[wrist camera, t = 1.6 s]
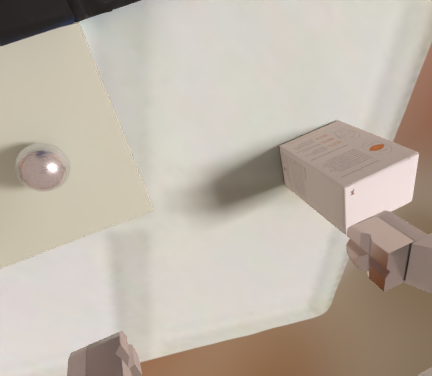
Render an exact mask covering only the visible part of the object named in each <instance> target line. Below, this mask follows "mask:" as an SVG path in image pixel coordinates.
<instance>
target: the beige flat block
mask: <svg viewBox="0 0 432 376" xmlns="http://www.w3.org/2000/svg"><path fill="white" fill-rule="evenodd" d="M36 143H47V144H51V145H54V146H56V147H58V148H59V149H61V150H62V151H63V152H64V153H65V154H66V155H67V157H68V159H69V162H70V167H71V169H70V175H69V177H68V179H67V181H66V182H65V183H64V184H63V185H62V186H61V187H59V188H57V189H55V190H52V191H47V192H40V191H35V190H32V189H29V188H28V187H26V186H25V185H23V184H22V183H21V182H20V180H19V179H18V177H17V175H16V173H15V161H16V158H17V156H18V154H19V153H20V152H21V151H22V150H23V149H24V148H26V147H27V146H29V145H32V144H36ZM153 210H154V209H153V206H152V203H151V200H150V197H149V195H148V192H147V190H146V188H145V185H144V183H143V180H142V178H141V175H140V173H139V170H138V168H137V165H136V163H135V160H134V158H133V155H132V153H131V150H130V148H129V145H128V143H127V140H126V138H125V135H124V133H123V131H122V128H121V126H120V123H119V121H118V118H117V116H116V113H115V111H114V108H113V106H112V103H111V101H110V98H109V96H108V93H107V91H106V88H105V86H104V83H103V81H102V78H101V76H100V74H99V71H98V69H97V66H96V64H95V61H94V59H93V56H92V54H91V51H90V49H89V46H88V44H87V41H86V39H85V36H84V34H83V31H82V29H81V26H80V24H79V22H78V23H74V24H70V25H66V26H63V27H59V28H56V29H53V30H50V31H47V32H44V33H41V34H38V35H35V36H32V37H29V38H25V39H22V40H19V41H16V42H13V43H10V44H7V45H4V46H0V269H1V268H4V267H6V266H9V265H12V264H14V263H17V262H20V261H22V260H25V259H27V258H30V257H33V256H35V255H38V254H40V253H43V252H46V251H48V250H51V249H54V248H56V247H59V246H61V245H64V244H67V243H69V242H72V241H74V240H77V239H80V238H82V237H85V236H88V235H90V234H93V233H95V232H98V231H101V230H103V229H106V228H108V227H111V226H114V225H116V224H119V223H122V222H124V221H127V220H129V219H132V218H135V217H137V216H140V215H143V214H145V213H148V212H150V211H153Z"/></svg>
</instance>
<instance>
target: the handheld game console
mask: <svg viewBox="0 0 432 376" xmlns="http://www.w3.org/2000/svg"><path fill="white" fill-rule="evenodd" d="M137 1H140V0H0V46H4V45H7V44H10V43H13V42H16V41H19V40H22V39H25V38H29V37H32V36H35V35H38V34H41V33H44V32H47V31H50V30H53V29H56V28H59V27H63V26H66V25H69V24H72V23H73V22H79V21H82V20H84V19H87V18H90V17H93V16H96V15H99V14H102V13H105V12H110V11H112V10H113V9H116V8H120V7H123V6H126V5H129V4H131V3H134V2H137Z"/></svg>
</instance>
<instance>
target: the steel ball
mask: <svg viewBox="0 0 432 376" xmlns="http://www.w3.org/2000/svg"><path fill="white" fill-rule="evenodd" d="M70 169H71V167H70V162H69V159H68V157H67V155H66V154H65V153H64V152H63V151H62V150H61V149H59V148H58V147H56V146H54V145H51V144H47V143H36V144H32V145H29V146H27V147H26V148H24V149H23V150H22V151H21V152H20V153H19V154H18V156H17V158H16V161H15V173H16V175H17V177H18V179H19V180H20V182H21V183H22V184H23V185H25V186H26V187H28V188H29V189H32V190H35V191H40V192H47V191H52V190H55V189H57V188H59V187H61V186H62V185H63V184H64V183H65V182H66V181H67V179H68V177H69V175H70Z"/></svg>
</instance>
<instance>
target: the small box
mask: <svg viewBox="0 0 432 376" xmlns="http://www.w3.org/2000/svg"><path fill="white" fill-rule="evenodd" d="M279 148H280V155H281V161H282V168H283V174H284V181H285V186H287V187H288V188H289V189H290V190H291V191H293V192H294V193H295V194H296V195H298V196H299V197H300V198H301V199H302V200H304V201H305V202H306V203H307V204H309V205H310V206H311V207H312V208H313V209H315V210H316V211H317V212H318V213H320V214H321V215H322V216H323V217H324V218H326V219H327V220H328V221H329V222H330V223H332V224H333V225H334V226H335V227H337V228H338V229H339V230H340V231H341V232H343V233H344V234H347V229H348V227H350V226H352V225H354V224H356V223H358V222H360V221H362V220H364V219H367V218H369V217H372V216H374V215H376V214H378V213H380V212H382V211H389V212H391V211H393V210H395V209H397V208H399V207H401V206H403V205H405V204H407V203H409V202H411V201H412V196H413V190H414V184H415V177H416V170H417V164H418V157H419V153H418V152H416V151H413V150H411V149H408V148H406V147H404V146H401V145H399V144H396V143H394V142H391V141H389V140H386V139H384V138H381V137H379V136H376V135H373V134H371V133H369V132H366V131H363V130H361V129H358V128H356V127H353V126H351V125H348V124H346V123H343V122H341V121H335V122H333V123H331V124H329V125H326V126H324V127H322V128H319V129H317V130H315V131H312V132H310V133H308V134H305V135H303V136H301V137H298V138H296V139H294V140H291V141H289V142H287V143H284V144H282V145H280V146H279Z"/></svg>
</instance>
